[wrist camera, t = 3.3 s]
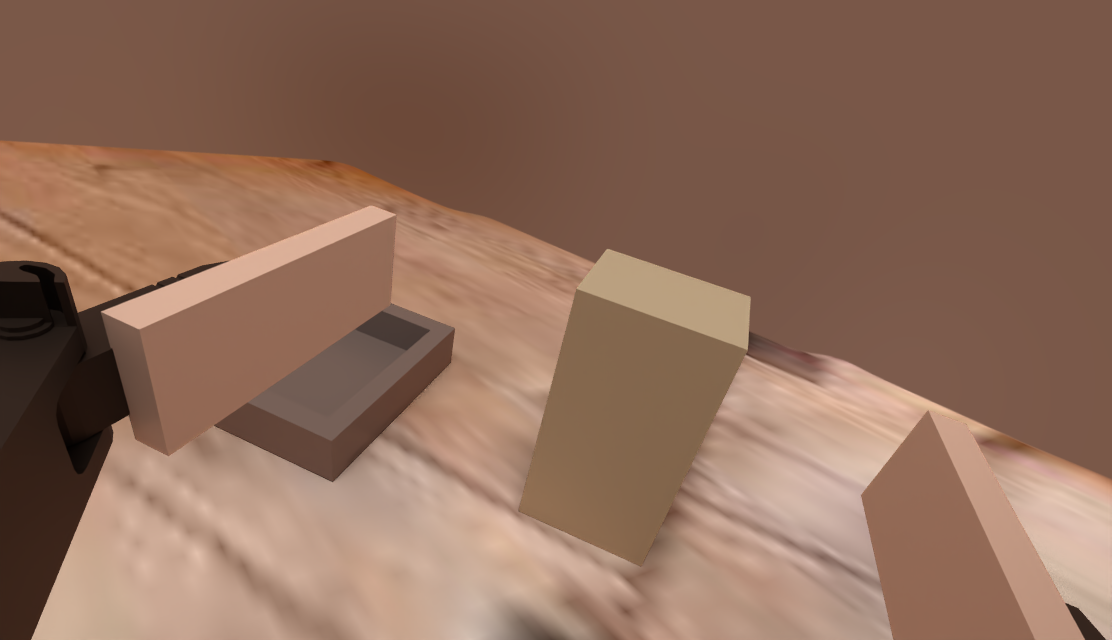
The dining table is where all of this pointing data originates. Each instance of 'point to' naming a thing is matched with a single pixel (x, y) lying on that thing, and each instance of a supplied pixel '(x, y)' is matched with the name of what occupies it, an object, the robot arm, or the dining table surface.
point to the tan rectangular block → (632, 400)
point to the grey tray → (346, 392)
